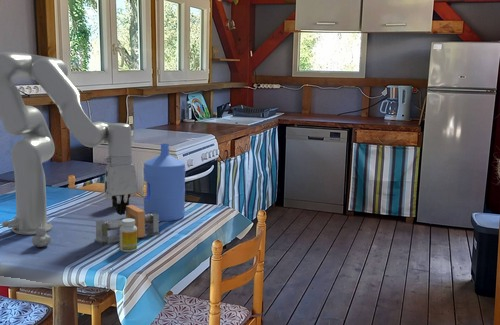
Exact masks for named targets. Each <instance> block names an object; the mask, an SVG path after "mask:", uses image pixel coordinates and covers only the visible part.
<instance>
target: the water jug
mask: <svg viewBox="0 0 500 325" xmlns="http://www.w3.org/2000/svg"><path fill="white" fill-rule="evenodd" d="M169 146H170V143H160V154H159V155H158V156H155V157H153V158H150V159H148V160H146V161H145V162H143V163H144V164H143V180H144V182H146V195H145V196H144V198H143V210H144V211H145V214H147V212H154V213H156V214H159V222H173V221H178V220H181V219H182V218H184V216H185V214H186V209H185V199H186V198H185V196H186V186H185V185H186V162H184V161H182V160H181V159H178V158H176V157H174V156H172V155H170V148H169Z"/></svg>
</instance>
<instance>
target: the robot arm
mask: <svg viewBox="0 0 500 325" xmlns="http://www.w3.org/2000/svg"><path fill="white" fill-rule="evenodd" d="M68 74H69V69H68V67H67V65H66V63H65V62H64V61H63V60H61V59H60V58H57V57H51V56H50V57H49V56H43V55H37V54H34V53H33V54H32V53H27V52H16V51H15V52H13V51H2V52H0V120H1V123H2V125H3V127H4V130H5V131H6V133H7V134H9V135H10V136H15V137H18V136H19V137H20V136H22V137H23V139H20V140H19V141H17V142H16V143H15V144H14V145H13V146H12V148H11V151H10V158H11V159H10V160H11V163H12V167H13V173H14V186H15V188H14V189H15V205H16V208H15V209H16V216H13V218H14V219H11V220H9V221H8V220H7V221H1V227H2V228H7V229H12V233H15V234H17V235H25V236H26V235H27V236H28V235H30V236H31V235H37V234H36V228H37V226H38V225H40V222H41V225H44V226H45V228H46V233H47V232H49V231H50V230H51V229H52V228H53V225H52V224H53V223H51V222H49V221H48V213H47V212H48V209H47V191H46V190H47V189H46V187H47V184H46V175H45V170H44V167H43V163H45V162H47V161H49V160H50V159H51V158H53V156H54V155H55V150H56V147H55V142H54V139H53V137H52V135H51V134H52V133H51V132H50V129H49V126H48V124H47V121H46V118H45V117H44V115H43V113H42V112H41V111H40V109H38V108H37V107H34V106H33V105H26V104H25V102H24V99H23V96H22V93H21V92H20V89H19V88H18V87H17V86H16V84H15V82H14V81H13V80H14V79H28V80H29V79H30V80H35V81H36V83H37V84H38V85H39V86H40V87H41V88H42V89H43V91H44V92H45V93H46V95H47V96H49V98H50V99H51V101H52V102H53V103H54V104H55V106H57V108H58V111H59V113H60V116H61V119H62V120H63V123H64V124H65V126H66V128H67V129H68V130H69V131H70V133H71V134H72V136H74V137H75V139H76V140H77V141H78V142H79V143H80V144H81V145H82V146H84V147H86V148H87V147H88V148H94V147H98V146H100V145H103V144H107V151H108V152H107V157H106V158H104V163H107V164H106V166H105V170H104V171H105V172H104V188H103V189H104V193H105V194H104V198H105V199H108V200H113V201H114V202H116V208H115V212H116V214H117V215H120V216H122V215H126V202H127V200H128V199H129V200H130V198H131V197H133V196H135V195H136V194H137V191H138V182H137V173H136V166H135V164H134V163H133V162H132V126H131V125H130V124H128V123H124V122H123V123H122V122H115V123H113V122H106V121H102V120H101V121H100V120H99V121H95V122H93V121H92V120H91V119H90V118H89V117H88V115H87V114H86V113H85V111H84V109H83V108H82V105H81V92H80V91H79V89H78V88H77V87H76V86H75V85H74V83H73V82H72V81H71V79H70V78H69V77H68ZM120 195H121V199H120Z"/></svg>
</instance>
